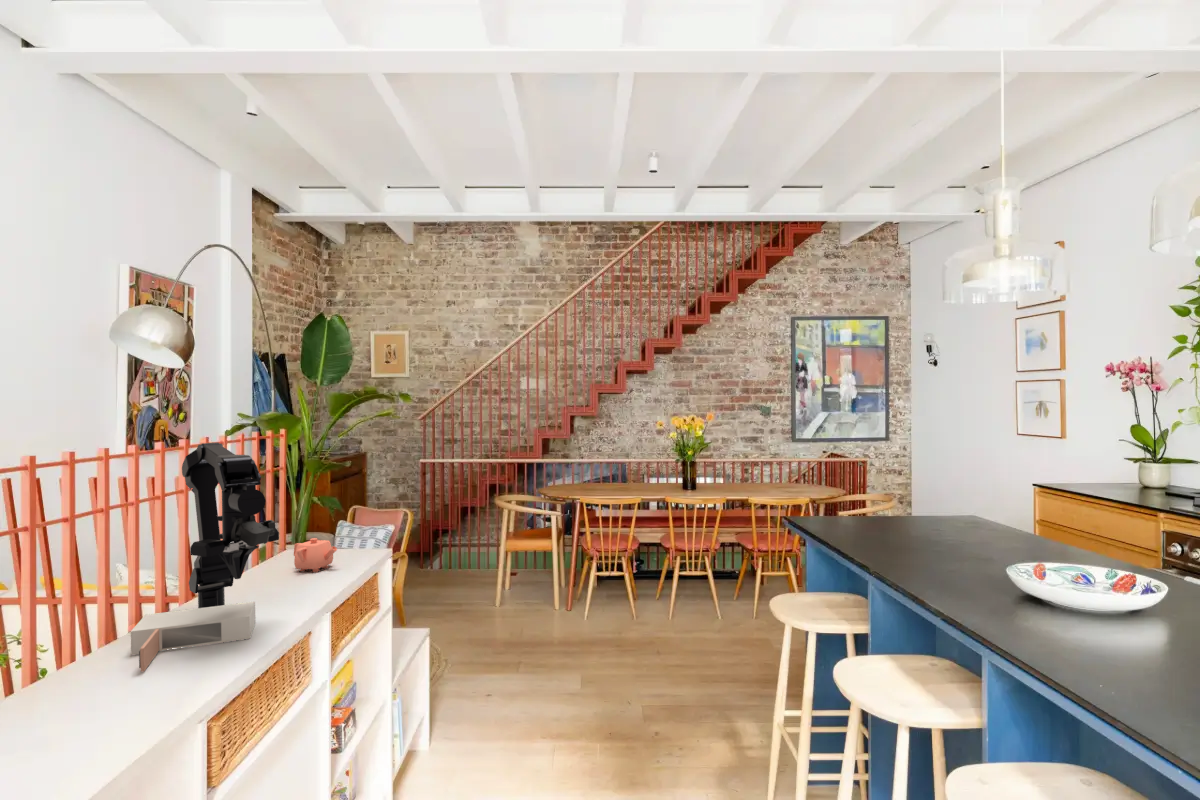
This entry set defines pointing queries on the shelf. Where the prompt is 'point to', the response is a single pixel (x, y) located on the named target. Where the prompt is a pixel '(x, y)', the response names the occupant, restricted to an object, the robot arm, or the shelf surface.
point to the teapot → (313, 554)
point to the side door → (149, 650)
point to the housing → (196, 626)
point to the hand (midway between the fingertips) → (237, 578)
